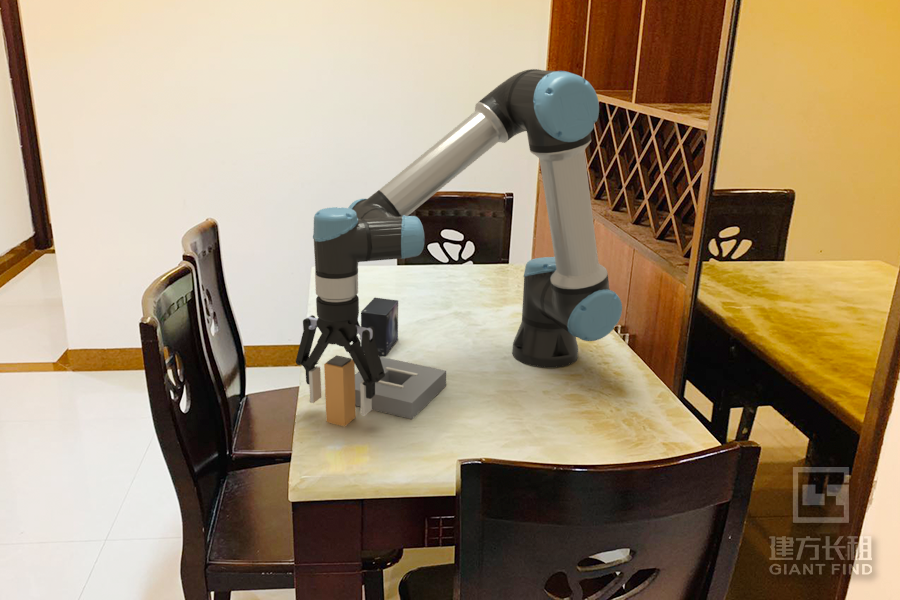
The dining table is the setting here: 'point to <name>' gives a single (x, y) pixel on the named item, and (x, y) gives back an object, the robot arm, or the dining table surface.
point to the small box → (382, 323)
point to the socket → (403, 388)
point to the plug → (340, 390)
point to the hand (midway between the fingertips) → (340, 405)
